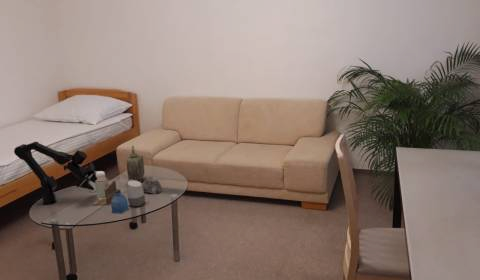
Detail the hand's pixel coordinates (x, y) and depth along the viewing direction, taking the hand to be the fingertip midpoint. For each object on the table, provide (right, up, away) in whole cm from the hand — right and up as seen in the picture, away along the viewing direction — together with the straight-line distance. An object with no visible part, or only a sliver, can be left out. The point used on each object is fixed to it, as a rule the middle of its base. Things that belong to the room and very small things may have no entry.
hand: (97, 187), depth 254 cm
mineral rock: (+30, -5, +12) cm, 33 cm away
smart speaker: (+26, -10, -7) cm, 29 cm away
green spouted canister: (+17, -1, +32) cm, 36 cm away
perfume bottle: (+18, -12, -15) cm, 26 cm away
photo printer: (-6, -4, +21) cm, 22 cm away
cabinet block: (+4, -8, +2) cm, 9 cm away
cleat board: (+4, -8, +2) cm, 9 cm away
